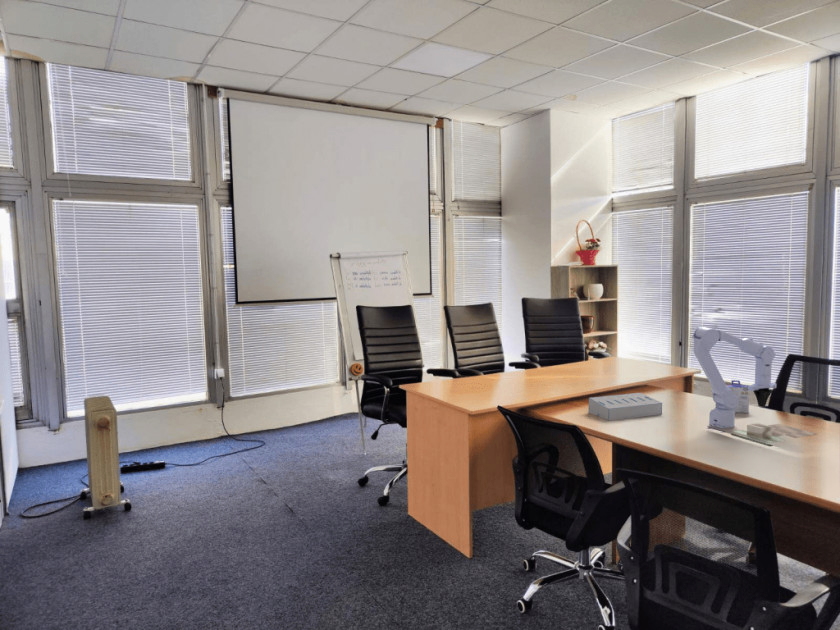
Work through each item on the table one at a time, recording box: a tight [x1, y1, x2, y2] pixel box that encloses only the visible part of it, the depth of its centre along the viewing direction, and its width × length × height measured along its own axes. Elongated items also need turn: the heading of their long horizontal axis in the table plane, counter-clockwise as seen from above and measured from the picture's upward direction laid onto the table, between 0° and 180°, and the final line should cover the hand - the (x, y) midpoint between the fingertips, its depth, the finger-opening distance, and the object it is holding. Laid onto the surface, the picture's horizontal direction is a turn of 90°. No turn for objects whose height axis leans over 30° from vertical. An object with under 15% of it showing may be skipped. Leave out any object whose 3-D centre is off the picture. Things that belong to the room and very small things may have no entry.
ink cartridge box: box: [726, 379, 750, 414], centre depth 262 cm, size 10×6×14 cm, turn 78°
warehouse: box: [588, 392, 663, 421], centre depth 260 cm, size 30×14×8 cm, turn 110°
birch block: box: [746, 422, 772, 439], centre depth 219 cm, size 6×6×4 cm
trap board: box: [731, 423, 818, 447], centre depth 223 cm, size 28×16×2 cm, turn 113°
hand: (761, 406), depth 234 cm, fingers closed
